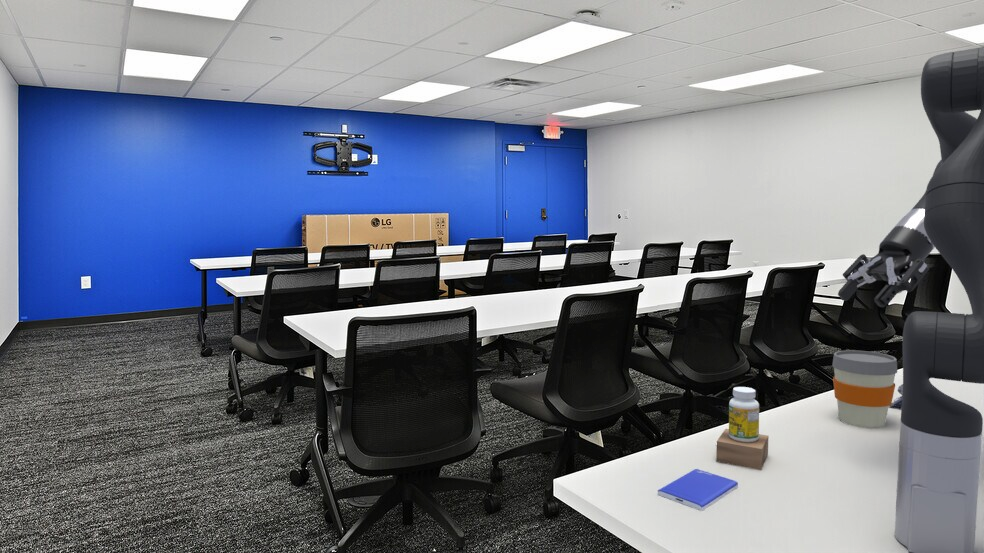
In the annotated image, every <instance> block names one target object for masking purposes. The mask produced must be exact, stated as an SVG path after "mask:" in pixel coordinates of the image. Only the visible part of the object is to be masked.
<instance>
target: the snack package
mask: <svg viewBox="0 0 984 553" xmlns="http://www.w3.org/2000/svg"><path fill="white" fill-rule="evenodd" d="M897 392H898V393H899V394H900V395H901V396H899V397H896V398H895V399H894V400H893V401H892V404H891V405H889V407H888V408H892V407H895V406H896V407H898V408H900V407H901V408H902V396H903V383H902V384H901V385H899V386H898V388H897Z"/></svg>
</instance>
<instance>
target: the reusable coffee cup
mask: <svg viewBox="0 0 984 553" xmlns="http://www.w3.org/2000/svg"><path fill="white" fill-rule="evenodd" d="M897 360H898V359H897V358H896V357H895V356H893V355H889V354H886V353H880V352H874V351H866V350H850V349H849V350H837V351H835V352H834V353H833V358H832V364H831V365H832V368H833V371H834V376H833V377H832V381H833V392H834V398H835V399H836V401H837V412H838V420H839V419H840V420H841V422H842V421H843V422H842V423H844V422H845V423H844V424H846V423H847V425H849V424H850V425H849V426H853V427H857V426H858V428H864V427H865V428H866V429H880V428H883V427H885V425H886V423H887V422H886V421H887V416H888V411H889V408H890V407H889V405H891V404H892V403H893V399H894V392H895V389H896V383H895V382H894V381H895V377H896V374H898V361H897ZM840 420H839V421H840Z"/></svg>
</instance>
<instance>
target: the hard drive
mask: <svg viewBox="0 0 984 553" xmlns="http://www.w3.org/2000/svg"><path fill="white" fill-rule="evenodd" d="M738 487H739V482H738V481H736V480H733V479H731V478H727V477H725V476H721V475H718V474H715V473H711V472H708V471H705V470H701V469H699V468H694V469H692V470H691V471H690V472H687V473H686V474H683V475H682V476H680V477H678V478H677V479H675V480H674V481H672V482H670V483H668V484H666V485H665V486H663V487H661V488H659V489H657V495H658V496H661V497H663V498H666V499H668V500H671V501H674V502H677V503H679V504H681V505H682V504H683V505H685V506H688V507H690V508H693V509H695V510H698V511H701V512H703V511H704V510H706V509H707V508H709V507H711V506H712V505H713V504H715V503H716V502H718V501H719V500H721V499H723V498H724V497H725V496H727V495H728V494H730V493H731V492H733V491H735V490H736V489H737V488H738Z"/></svg>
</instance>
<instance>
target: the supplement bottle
mask: <svg viewBox="0 0 984 553" xmlns="http://www.w3.org/2000/svg"><path fill="white" fill-rule="evenodd" d="M732 395H733V397H732V398H731V399H730V400H729V403H728V429H729V436H730V438H732V439H733V440H736V441H741V442H755V441H757V440H758V438H759V434H760V433H759V432H760V403H759V401H757V400H756V399H755V398H756V397H757V396H756V389H754V388H752V387H748V386H747V387H746V386H735V387H733V389H732Z"/></svg>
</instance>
